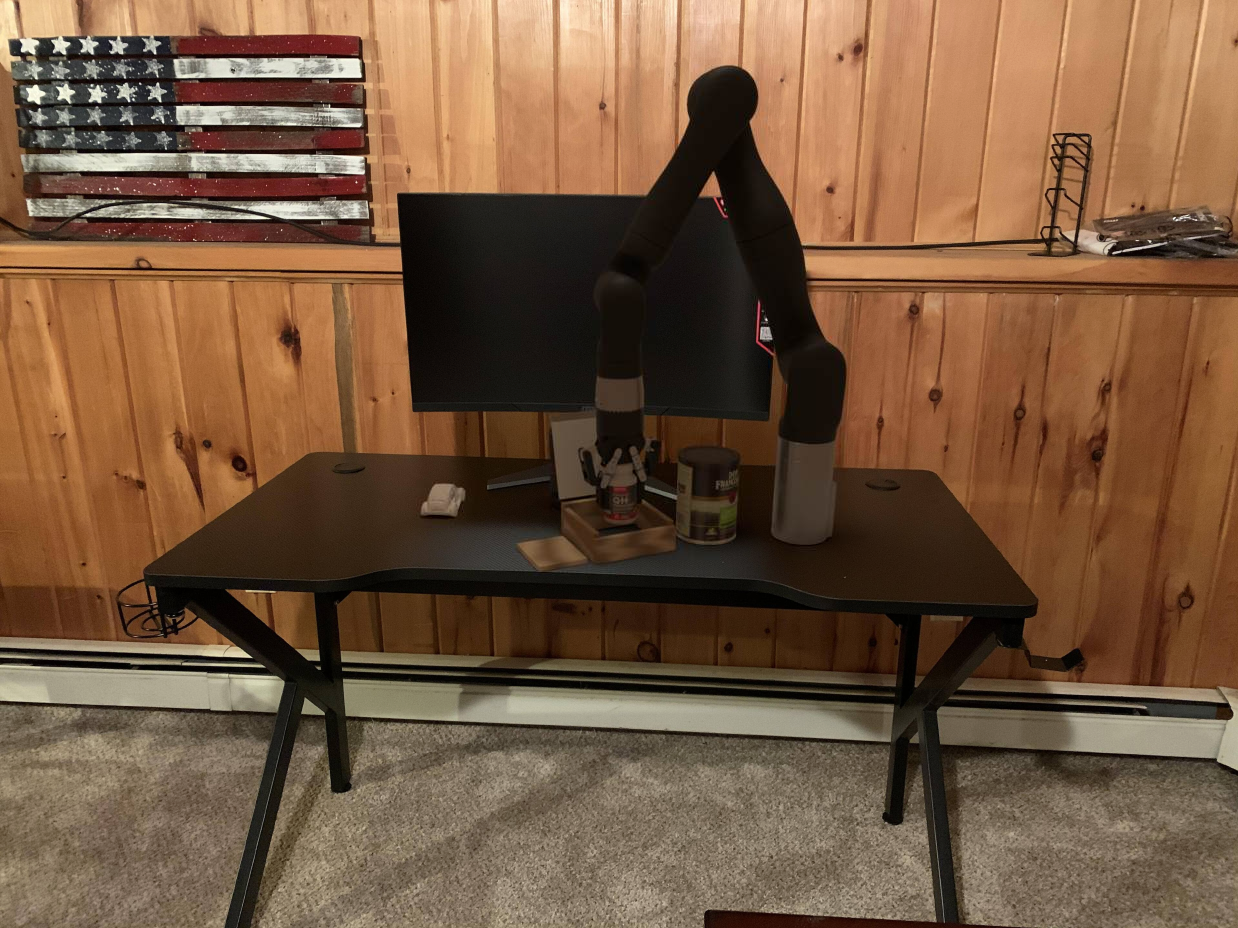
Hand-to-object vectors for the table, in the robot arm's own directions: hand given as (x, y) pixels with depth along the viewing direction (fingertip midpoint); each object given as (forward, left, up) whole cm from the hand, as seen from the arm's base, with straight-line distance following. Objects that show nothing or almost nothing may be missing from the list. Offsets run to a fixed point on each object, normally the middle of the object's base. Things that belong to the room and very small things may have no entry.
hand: (620, 504), depth 149 cm
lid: (0, -9, +6) cm, 11 cm away
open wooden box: (0, 0, -6) cm, 6 cm away
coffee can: (-15, +3, -7) cm, 16 cm away
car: (+22, -27, -7) cm, 35 cm away
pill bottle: (0, 0, -3) cm, 3 cm away
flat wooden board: (+12, +1, -6) cm, 14 cm away
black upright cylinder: (0, -19, -7) cm, 20 cm away
